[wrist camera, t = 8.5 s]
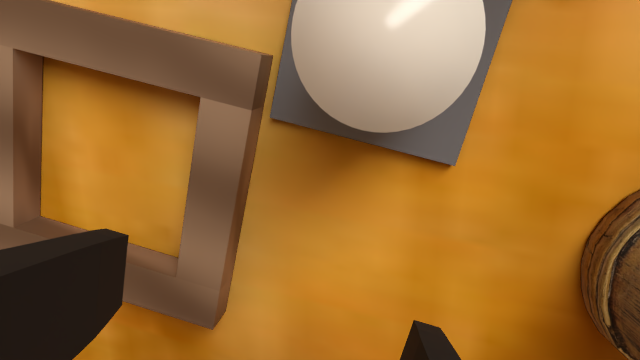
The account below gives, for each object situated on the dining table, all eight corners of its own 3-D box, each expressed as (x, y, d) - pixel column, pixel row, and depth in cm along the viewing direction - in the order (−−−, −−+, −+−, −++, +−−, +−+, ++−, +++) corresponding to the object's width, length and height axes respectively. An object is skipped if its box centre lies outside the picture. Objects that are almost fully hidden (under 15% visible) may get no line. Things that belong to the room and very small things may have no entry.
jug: (419, 123, 17) (436, 158, 10) (313, 84, 17) (269, 96, 11) (484, -28, 15) (549, -93, 9) (364, -69, 15) (344, -160, 9)
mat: (453, 163, 17) (454, 166, 17) (272, 116, 18) (269, 117, 18) (524, -45, 15) (528, -48, 14) (312, -89, 16) (310, -94, 15)
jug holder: (225, 310, 21) (212, 329, 20) (3, 241, 22) (-25, 254, 21) (273, 55, 17) (261, 54, 16) (0, -12, 19) (-35, -19, 17)
